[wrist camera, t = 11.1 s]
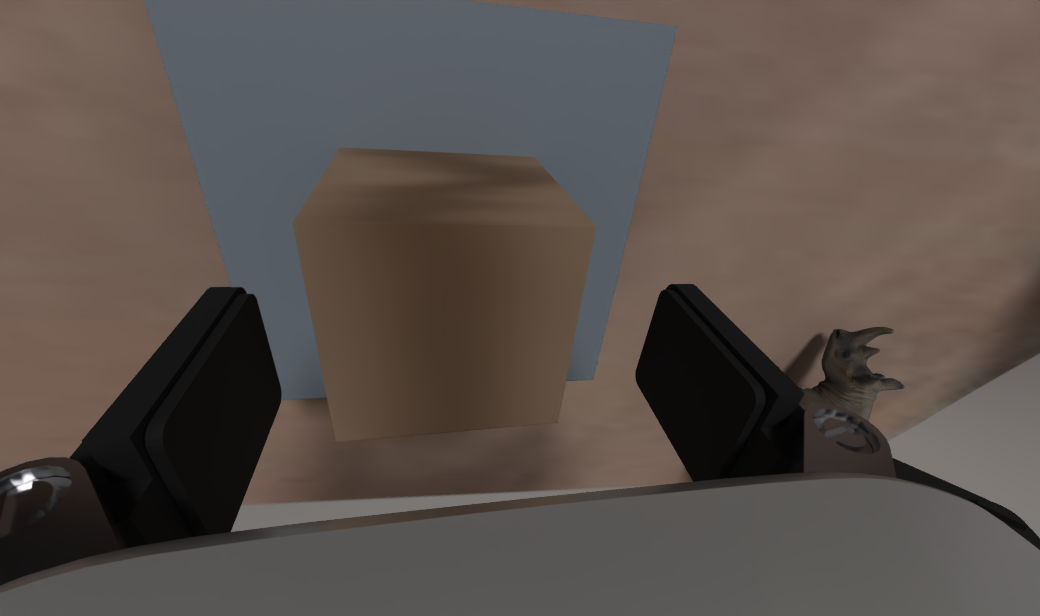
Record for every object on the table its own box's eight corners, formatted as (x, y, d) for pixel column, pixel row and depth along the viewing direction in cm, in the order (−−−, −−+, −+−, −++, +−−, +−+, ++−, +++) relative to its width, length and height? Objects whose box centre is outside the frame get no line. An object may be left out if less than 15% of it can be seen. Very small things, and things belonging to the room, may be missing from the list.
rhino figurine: (867, 313, 28) (963, 376, 23) (719, 450, 33) (772, 525, 28) (833, 290, 26) (930, 352, 21) (683, 439, 31) (733, 516, 26)
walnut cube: (534, 156, 14) (595, 226, 9) (518, 309, 17) (557, 422, 12) (339, 147, 13) (292, 222, 8) (360, 314, 16) (335, 441, 11)
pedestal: (624, 26, 16) (677, 26, 13) (568, 330, 24) (593, 379, 20) (202, -25, 13) (132, -41, 10) (289, 341, 21) (265, 401, 17)
